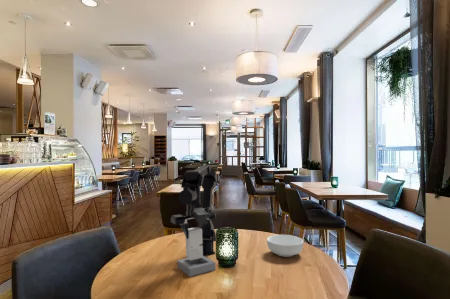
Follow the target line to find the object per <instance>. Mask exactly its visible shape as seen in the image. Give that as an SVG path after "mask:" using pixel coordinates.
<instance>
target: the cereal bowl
mask: <svg viewBox="0 0 450 299" xmlns="http://www.w3.org/2000/svg"><path fill="white" fill-rule="evenodd" d="M266 240H267V241H266V243H267V247H268V249H269V251H271V252H272V253H274V254H276V255H278V256H279V257H283V258H291V257H293V256H295V255H299V254H300V253H301V252H302V250H303V249H304V240H303V238H301V237H299V236H295V235H292V234H274V235H270V236H268V237H267V239H266Z"/></svg>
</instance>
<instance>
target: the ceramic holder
mask: <svg viewBox="0 0 450 299" xmlns="http://www.w3.org/2000/svg"><path fill="white" fill-rule="evenodd" d="M176 262H177V263H176V264H177V265H176V266H177V268H178V269H179V270H181V272H183V273H184V274H186V275H187V276H188V277H189V278H190V277H194V276H198V275H201V274H205V273H209V272H212V271H216V266H217V265H216V262H215V261H214V260H212V259H210V258H208V257H207V256H203V257H202V258H199V259H195V260H191V261H190V260H189V259H188V258H187V257H185V258H181V259H177V261H176Z"/></svg>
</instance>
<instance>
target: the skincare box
mask: <svg viewBox="0 0 450 299" xmlns="http://www.w3.org/2000/svg"><path fill="white" fill-rule="evenodd" d="M185 256H186V257H185V258H188V259H189V260H190V261H191V260H195V259H199V258H202V257H203V244H202V229H201V228H199V227H197V226H196V227H190V228H188V239H186V238H185Z"/></svg>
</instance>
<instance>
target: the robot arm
mask: <svg viewBox="0 0 450 299" xmlns="http://www.w3.org/2000/svg"><path fill="white" fill-rule="evenodd" d="M217 182H218V174H217V171H216V170H215V169H213V168H212V167H211V165H210V164H202V165H199V167H197V168H195V169H194V170H186V171H185V172H184V174H183V177H182V181H181V186H180V189H181V188H182V191H180V192H179V193H178V201H179V202H180V204H182V205H186V212H185V215H183V214H173V215H171V217H170V223H172V224H173V225H179V226H180V228H181V230H182V232H183V234H184V237H185V240H186V239H188V229H189V225H190V223H188V221H192V220H195V222H197V225H196V227H199V228H201V229H202V244H203V256H205V257H207V256H210V255H215V254H216V252H215V251H214V243H215V242H216V241H217V234H216V231H215V229H214V227H215V226H214V224H213V222H212V220H215V219H217V215H216V212H214V211H212V205H213V204H212V203H213V191H214V189H215V188H216V186H217ZM201 187H202V190H203V193H202V203H201Z"/></svg>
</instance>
